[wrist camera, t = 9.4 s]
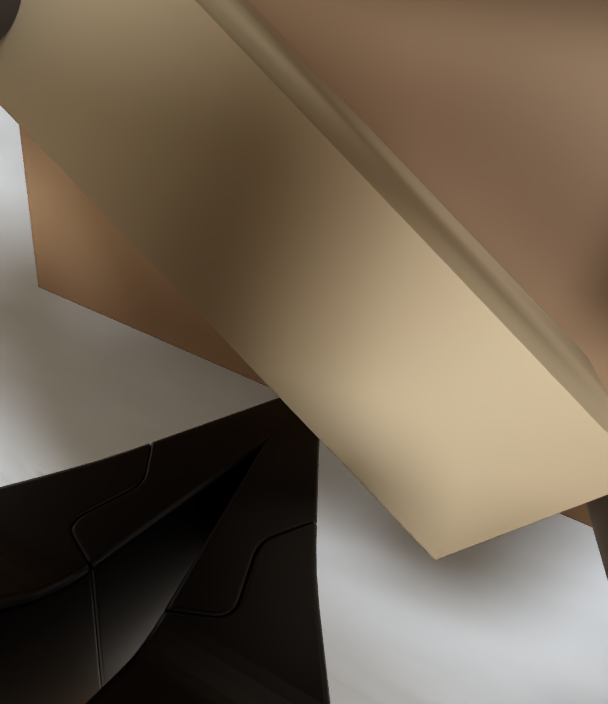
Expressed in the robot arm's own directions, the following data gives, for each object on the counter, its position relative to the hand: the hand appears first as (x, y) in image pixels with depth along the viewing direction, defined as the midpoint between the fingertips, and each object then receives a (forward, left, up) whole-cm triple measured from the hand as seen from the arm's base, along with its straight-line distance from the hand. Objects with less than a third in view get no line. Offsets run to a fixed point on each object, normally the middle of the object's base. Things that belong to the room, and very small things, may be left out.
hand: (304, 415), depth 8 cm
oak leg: (+4, +1, -1) cm, 5 cm away
